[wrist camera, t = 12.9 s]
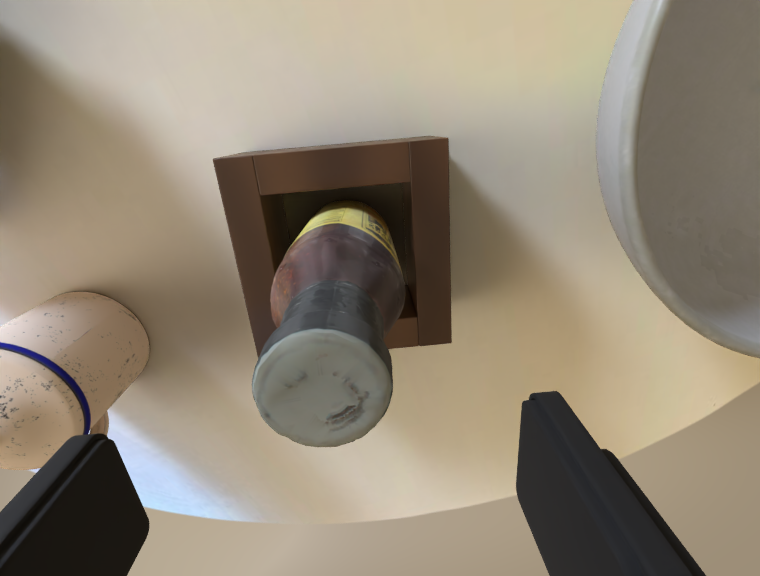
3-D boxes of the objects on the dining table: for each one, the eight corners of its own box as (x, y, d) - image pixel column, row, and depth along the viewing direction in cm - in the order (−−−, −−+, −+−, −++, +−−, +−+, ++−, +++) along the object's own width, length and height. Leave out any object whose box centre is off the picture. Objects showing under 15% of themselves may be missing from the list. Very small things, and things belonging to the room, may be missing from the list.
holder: (430, 135, 27) (448, 137, 22) (435, 306, 32) (451, 343, 27) (242, 152, 27) (211, 158, 22) (276, 321, 32) (258, 361, 27)
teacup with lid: (13, 293, 30) (-180, 386, 19) (132, 280, 30) (6, 364, 19) (76, 419, 35) (-52, 551, 24) (179, 407, 35) (98, 533, 24)
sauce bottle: (392, 272, 31) (440, 482, 13) (312, 280, 31) (243, 503, 12) (385, 187, 29) (431, 292, 10) (298, 195, 28) (186, 318, 10)
